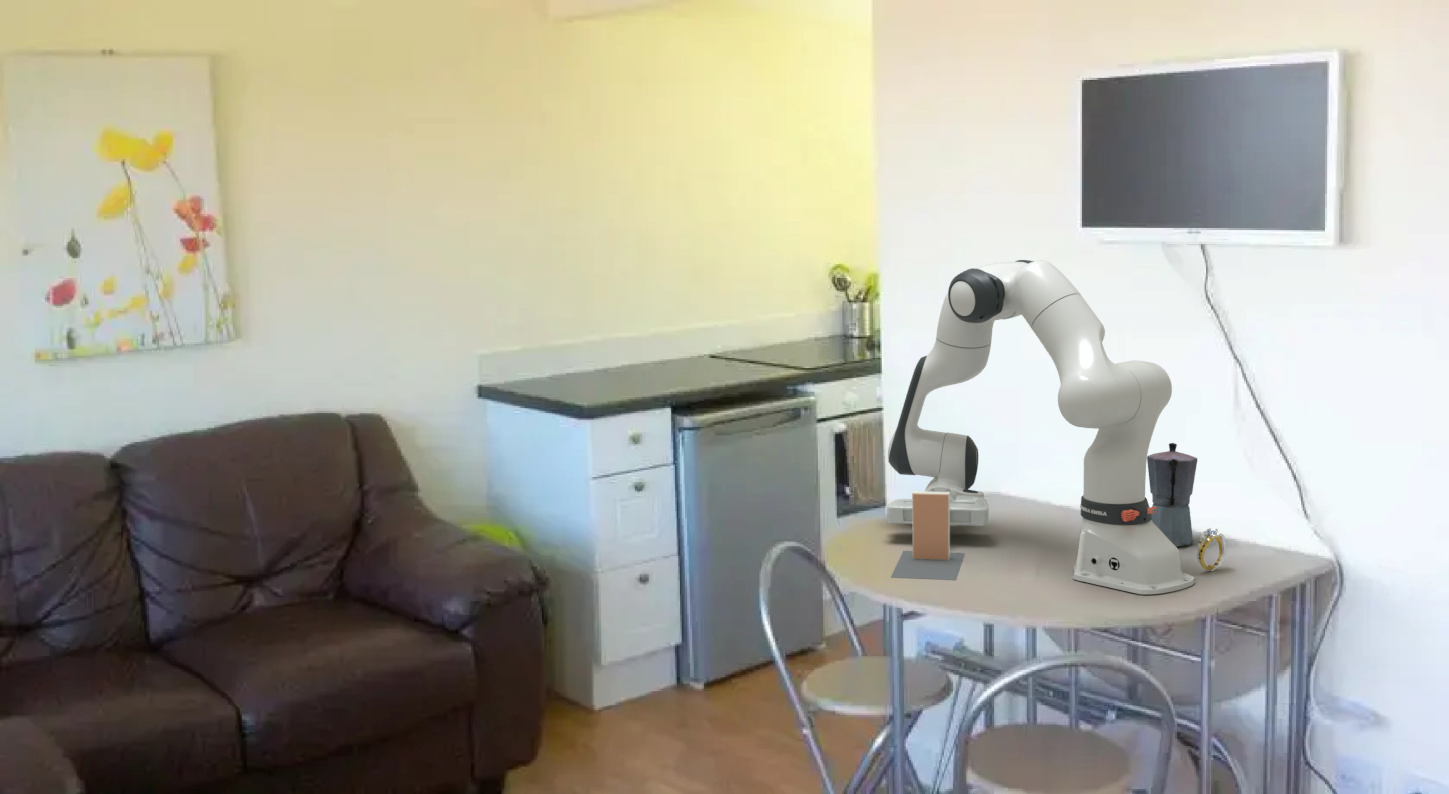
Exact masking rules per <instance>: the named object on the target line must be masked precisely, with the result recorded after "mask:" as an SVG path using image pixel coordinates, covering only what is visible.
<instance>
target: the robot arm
mask: <svg viewBox="0 0 1449 794" xmlns="http://www.w3.org/2000/svg"><path fill="white" fill-rule="evenodd" d="M1019 316H1022V317H1023V318H1024V320H1025V321H1026V322H1027V324H1028V325H1029V327H1030V328H1031V330H1032V331H1033V333H1034V334H1035V335H1036V337H1037V338H1038V340H1039V342H1040V343H1041V344H1042V346H1043V348H1044V349H1045V350H1046V352H1047V353H1048V355H1049V356H1050V358H1051V360H1052V362H1053V364H1054V365H1055V368H1056V371H1057V373H1058V378H1059V382H1060V386H1059V388H1058V389H1059V390H1058V393H1057V404H1058V409H1059V412H1060V414H1061V416H1062V417H1063V419H1064V420H1065V421H1066V422H1067V423H1069V424H1070V425H1071V426H1074V427H1077V428H1085V429H1098V431H1097V433H1096V435H1095V438H1094V440H1093V442H1092V443H1091V445H1090V446H1089V447H1088V448H1087V449H1086V451H1085V454H1084V457H1083V495H1082V496H1081V497H1080V505H1079V508H1080V516H1081V517H1082V521H1081V523H1082V524H1081V530H1080V534H1079V542H1078V550H1077V555H1076V559H1075V563H1074V566H1073V577H1072V579H1073V580H1075V581H1079V582H1082V583H1083V582H1085V583H1089V584H1093V585H1097V586H1101V587H1102V586H1103V587H1107V588H1111V589H1115V590H1119V591H1123V592H1128V593H1133V594H1137V595H1158V594H1165V593H1172V592H1175V591H1180V590H1184V589H1186V588H1189V587H1192V586H1193V585H1194V584H1195V582H1196V581H1195V577H1194V576H1192V575H1191V574H1188V573H1185V572H1184V571H1182V561H1181V555H1180V550H1179V549H1178V546H1175V545H1174V544H1173V543H1172V542H1171V541H1170V540H1169V539H1168V538H1167V537H1166V536H1165V535H1164V534H1163V532H1162V531H1161V530H1160V529H1159V528H1158V527H1157V526H1156V525H1155V524H1154V522H1153V521H1152V514H1151V513H1156V512H1157V511H1152V510H1154V509H1155V508H1157V507H1156V506H1155V507H1152V506H1151V507H1150V505H1149V501H1148V499H1147V497H1146V480H1147V479H1146V476H1147V475H1146V474H1147V473H1146V472H1147V456H1148V453H1149V452H1148V451H1149V448H1150V444H1151V441H1152V437H1153V434H1154V430H1155V427H1156V426H1157V425H1156V424H1157V422H1158V419H1159V417H1160V416H1161V413H1162V412H1163V410H1164V409H1165V408H1166V406H1167V405H1168V404H1169V402H1170V400H1171V397H1172V392H1173V385H1172V380H1171V378H1170V376H1169V373H1168V372H1167V371H1166V370H1165V369H1164V368H1163V367H1162V366H1160V365H1159V364H1157V363H1155V362H1150V361H1149V362H1148V361H1143V360H1129V361H1123V362H1118V363H1114V362H1113V361H1111V360H1110V358H1109V357H1108V355H1107V353H1106V350H1105V347H1104V344H1103V341H1104V339H1105V336H1106V335H1105V334H1106V329H1105V327H1104V324H1103V323H1102V322H1101V319H1100V318H1098V316H1097V314H1096V313H1095V312H1094V310H1093V309H1092V308H1091V306H1090V305H1089V304H1088V303H1087V301H1086V300H1085V298H1084V296H1083V295H1082V294H1081V293H1080V292H1079V290H1078V289H1077V288H1076V287H1075V285H1074V284H1073V283H1072V282H1071V281H1070V280H1069V279H1068V277H1066V275H1065V274H1063V272H1061V271H1060V269H1058V268H1057V267H1056V266H1054V265H1053V264H1052V263H1051V262H1049V261H1047V260H1027V259H1019V260H1014V261H1005V262H993V263H987V264H985V265H981V266H979V267H975V268H969V269H966V270H963V271H962V272H960V273H958V274H957V275H956V276H955V277H953V279H952V280H951V281H950V284H949V287H948V291H947V293H946V295H945V296H944V299H943V303H942V306H941V310H940V314H939V318H938V322H937V329H936V338H935V342H934V345H933V347H932V349H931V351H930V352H929V353H928V354H926V355H924V356H921V357H920V359H918V361H917V363H916V365H915V367H914V370H913V373H912V377H911V380H910V382H909V385H908V389H907V393H906V396H905V399H904V402H903V406H902V408H901V413H900V416H899V419H898V423H897V426H896V429H895V431H894V433H893V434H892V437H891V439H890V441H889V445H888V448H887V459H888V463H889V465H890V466H891V467H892V469H893V470H894V471H896V472H897V473H898V474H899V475H902V476H903V475H904V476H923V477H924V476H925V477H929V478H932V479H931V480H930V481H929V483H928V484H927V485H926V487H925V489H924V491H923V492H950V528H951V527H958V526H965V527H966V526H967V527H969V526H971V527H987V526H988V525H990V524H989V521H990V520H989V519H990V516H989V515H990V514H989V513H990V509H989V508H990V507H989V503H988V499H986V498H985V494H984V492H982V491H978V490H972V489H971V487H972V486H973V485H974V483H975V481H976V477H977V473H978V469H979V468H978V466H979V449H978V446H977V445H976V443H975V442H974V441H975V440H973V439H972V438H971V437H970V436H969V435H966V434H960V433H954V432H943V431H936V430H929V429H924V428H921V427H919V425H918V423H919V419H920V417H921V414H922V409H923V407H924V404H925V401H926V398H927V396H928V395H929V394H930V393H932V392H933V391H935V390H937V389H939V388H944V387H947V386H952V385H958V384H962V383H964V382H968V381H969V380H972V379H973V378H975V377H977V376H979V374H981V373H982V372H983V370H984V369H985V368H986V367H987V364H988V361H989V357H990V352H991V346H992V337H993V328H994V324H995V321H999V320H1008V319H1013V318H1016V317H1019ZM886 521H887V522H888V523H890V524H904V525H912V498H897V499H894V500H892V501H891V502H890V503H889V504H887V505H886Z"/></svg>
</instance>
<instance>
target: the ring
mask: <svg viewBox="0 0 1449 794" xmlns="http://www.w3.org/2000/svg"><path fill="white" fill-rule="evenodd" d="M1205 539H1207V540H1205ZM1213 540H1215V541H1216V543H1217V545H1218V549H1219V553H1218V558H1217V560H1216V561H1215V562H1214V563H1213V564H1209V565H1206V562H1205V553H1206V550H1207V548H1208V547H1209V545H1210V544H1211V542H1212V541H1213ZM1226 554H1227V541H1226V537H1225V535H1224V534H1223V533H1220V532H1219V530H1218V528H1215V530H1212V528H1210V527H1209V528H1207V529H1206V530H1204V531H1203V532H1202V534H1201V536H1200V538H1199V540H1198V544H1197V549H1196V558H1197V559H1196V560H1197V562H1198V565H1199V566H1200V568H1202V569H1203V570H1206V571H1209V572H1212V571H1213V572H1215V571H1216V570H1217V569H1219V568H1220V566H1222V564H1223V562H1224V560H1225V558H1226Z"/></svg>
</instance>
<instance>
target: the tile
mask: <svg viewBox="0 0 1449 794" xmlns="http://www.w3.org/2000/svg"><path fill="white" fill-rule="evenodd" d="M911 495H912V496H911V499H912V524H911V526H912V529H911V530H912V551H913V559H928V560H949V559H950V552H951V527H950V492H924V491H919V490H918V491H917V490H914V491H912V493H911Z"/></svg>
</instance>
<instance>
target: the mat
mask: <svg viewBox="0 0 1449 794" xmlns="http://www.w3.org/2000/svg"><path fill="white" fill-rule="evenodd" d="M965 554H966V553H965V552H951V551H950V559H949V560H928V559H913V550H903V551H902V553H901V554H900V557H899V559H898V561H897V563H896V565H895V567H894V569H893V572H892V573H891V576H890V578H892V579H911V580H912V579H913V580H914V579H916V580H934V581H935V580H937V581H938V580H939V581H943V580H944V581H957V579H958V575H959V572H960V569H961V566H962V564H963V560H964V558H965V557H964V556H965Z"/></svg>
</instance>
